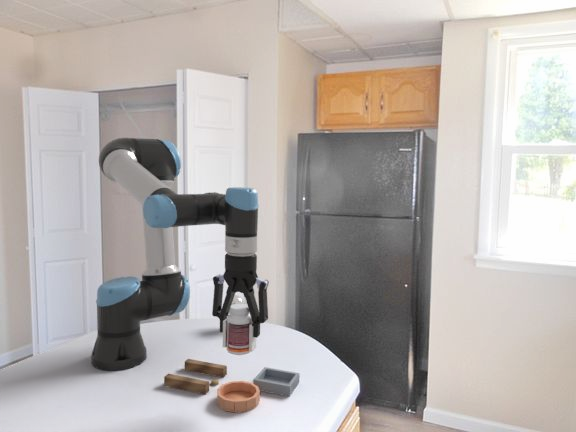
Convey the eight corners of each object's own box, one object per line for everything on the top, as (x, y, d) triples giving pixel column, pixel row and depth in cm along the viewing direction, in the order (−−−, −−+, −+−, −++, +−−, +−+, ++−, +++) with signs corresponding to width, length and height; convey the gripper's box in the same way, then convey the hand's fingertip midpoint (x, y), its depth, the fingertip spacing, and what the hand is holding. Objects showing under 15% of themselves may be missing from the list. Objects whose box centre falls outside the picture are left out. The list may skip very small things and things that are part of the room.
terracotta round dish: (209, 407, 112) (209, 396, 111) (228, 388, 121) (228, 378, 121) (249, 415, 108) (249, 404, 108) (265, 395, 118) (265, 385, 118)
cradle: (164, 385, 121) (164, 376, 121) (188, 367, 133) (188, 358, 132) (207, 394, 117) (207, 385, 117) (228, 374, 129) (228, 366, 129)
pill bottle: (256, 352, 112) (257, 308, 111) (233, 358, 109) (234, 312, 108) (244, 344, 118) (245, 301, 116) (222, 348, 114) (222, 304, 113)
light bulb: (222, 331, 161) (222, 297, 160) (228, 324, 168) (228, 292, 167) (241, 333, 160) (242, 299, 159) (246, 326, 167) (247, 293, 166)
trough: (253, 389, 121) (253, 379, 121) (264, 376, 129) (264, 367, 128) (289, 396, 118) (290, 386, 118) (299, 382, 125) (299, 373, 125)
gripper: (197, 252, 110) (196, 347, 113) (273, 259, 104) (271, 359, 107) (212, 247, 117) (211, 336, 120) (284, 253, 111) (281, 347, 114)
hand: (239, 347), depth 113 cm, fingers closed on pill bottle, 6 cm apart
